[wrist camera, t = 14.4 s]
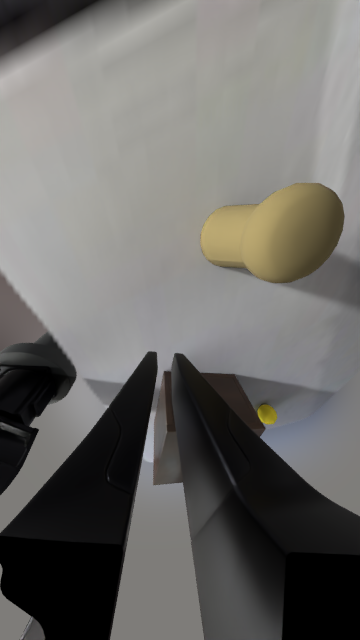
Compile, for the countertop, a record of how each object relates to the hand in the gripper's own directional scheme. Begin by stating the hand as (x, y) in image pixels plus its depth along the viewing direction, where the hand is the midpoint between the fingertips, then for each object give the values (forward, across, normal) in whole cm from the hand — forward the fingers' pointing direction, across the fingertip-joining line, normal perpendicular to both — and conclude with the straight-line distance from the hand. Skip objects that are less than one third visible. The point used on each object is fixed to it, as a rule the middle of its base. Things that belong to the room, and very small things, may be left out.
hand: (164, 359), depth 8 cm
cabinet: (+13, -9, +20) cm, 26 cm away
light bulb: (+13, -25, +23) cm, 36 cm away
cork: (+13, -7, -7) cm, 16 cm away
